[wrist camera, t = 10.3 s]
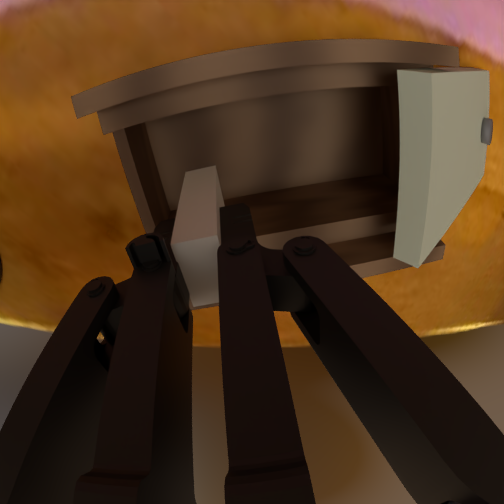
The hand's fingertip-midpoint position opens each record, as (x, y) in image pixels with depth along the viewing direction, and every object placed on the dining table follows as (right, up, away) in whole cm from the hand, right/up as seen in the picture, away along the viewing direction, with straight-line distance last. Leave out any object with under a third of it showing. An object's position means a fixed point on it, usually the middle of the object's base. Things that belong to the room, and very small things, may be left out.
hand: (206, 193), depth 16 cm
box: (+4, +6, +9) cm, 11 cm away
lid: (+17, +6, +4) cm, 18 cm away
